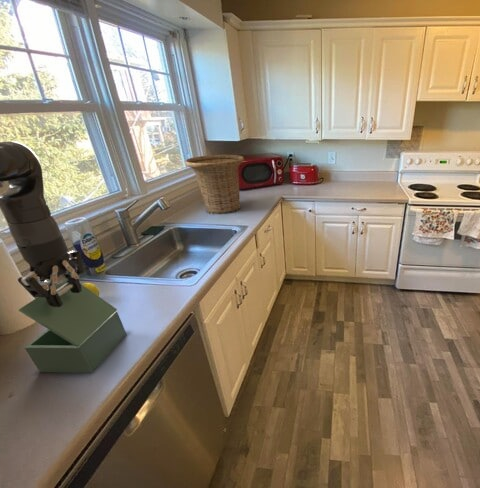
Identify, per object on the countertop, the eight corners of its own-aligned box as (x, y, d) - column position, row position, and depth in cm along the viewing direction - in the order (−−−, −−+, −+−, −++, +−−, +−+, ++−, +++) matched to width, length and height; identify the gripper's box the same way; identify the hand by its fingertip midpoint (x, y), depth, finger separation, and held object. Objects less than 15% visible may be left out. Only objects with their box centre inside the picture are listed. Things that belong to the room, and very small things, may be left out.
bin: (40, 372, 72) (24, 347, 68) (82, 334, 84) (70, 311, 80) (92, 373, 72) (78, 348, 68) (126, 334, 84) (117, 311, 80)
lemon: (79, 305, 97) (70, 285, 93) (96, 296, 101) (87, 277, 98) (89, 308, 95) (80, 289, 91) (106, 299, 100) (98, 280, 96)
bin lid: (18, 310, 63) (27, 299, 62) (68, 277, 75) (78, 268, 74) (77, 347, 68) (87, 338, 66) (115, 310, 80) (125, 302, 79)
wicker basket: (231, 220, 170) (222, 164, 155) (183, 215, 179) (170, 162, 164) (259, 203, 200) (253, 155, 185) (217, 199, 209) (208, 153, 194)
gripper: (51, 224, 69) (76, 282, 76) (-14, 251, 56) (24, 317, 63) (81, 225, 69) (103, 283, 76) (23, 252, 56) (57, 318, 63)
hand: (67, 298), depth 70 cm, fingers closed on bin lid, 5 cm apart
